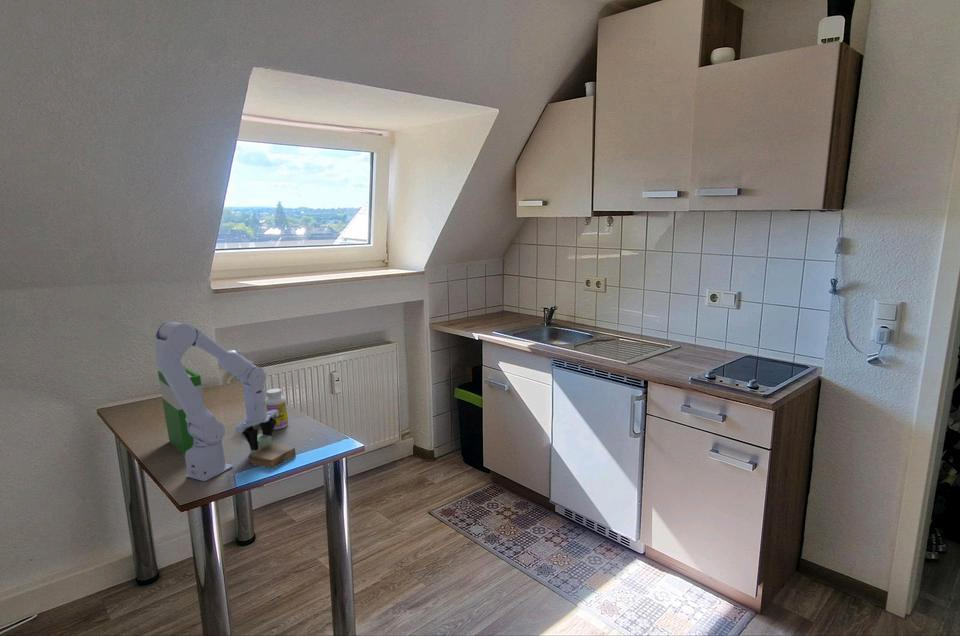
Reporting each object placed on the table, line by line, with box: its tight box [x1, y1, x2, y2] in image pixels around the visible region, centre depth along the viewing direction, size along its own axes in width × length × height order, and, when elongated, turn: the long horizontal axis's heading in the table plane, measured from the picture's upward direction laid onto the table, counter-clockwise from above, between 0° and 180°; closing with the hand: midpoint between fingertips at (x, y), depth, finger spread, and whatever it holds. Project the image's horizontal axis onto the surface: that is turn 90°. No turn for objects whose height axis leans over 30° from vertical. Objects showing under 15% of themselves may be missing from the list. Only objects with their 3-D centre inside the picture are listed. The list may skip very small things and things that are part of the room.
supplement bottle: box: [265, 388, 289, 430], centre depth 187 cm, size 7×7×13 cm
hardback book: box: [157, 365, 205, 457], centre depth 174 cm, size 18×7×24 cm, turn 43°
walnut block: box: [248, 442, 297, 469], centre depth 162 cm, size 9×9×3 cm
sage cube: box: [249, 433, 273, 454], centre depth 168 cm, size 4×4×4 cm
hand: (261, 446), depth 168 cm, fingers closed on sage cube, 4 cm apart
